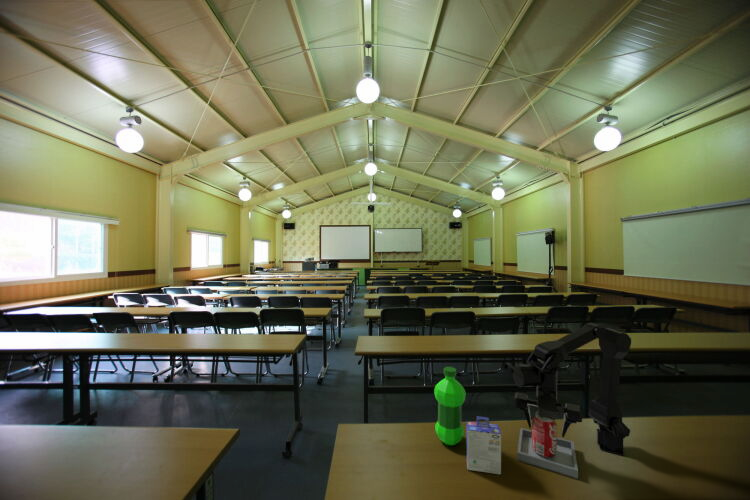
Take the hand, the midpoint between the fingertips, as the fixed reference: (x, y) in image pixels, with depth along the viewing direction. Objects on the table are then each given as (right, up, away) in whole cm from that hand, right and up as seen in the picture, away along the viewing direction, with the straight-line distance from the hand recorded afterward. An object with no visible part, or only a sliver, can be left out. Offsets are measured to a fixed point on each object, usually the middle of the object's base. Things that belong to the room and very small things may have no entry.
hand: (546, 432), depth 98 cm
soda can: (0, -7, +1) cm, 7 cm away
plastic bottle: (-30, -7, +7) cm, 31 cm away
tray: (0, -7, 0) cm, 7 cm away
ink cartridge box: (-22, -8, -5) cm, 24 cm away
